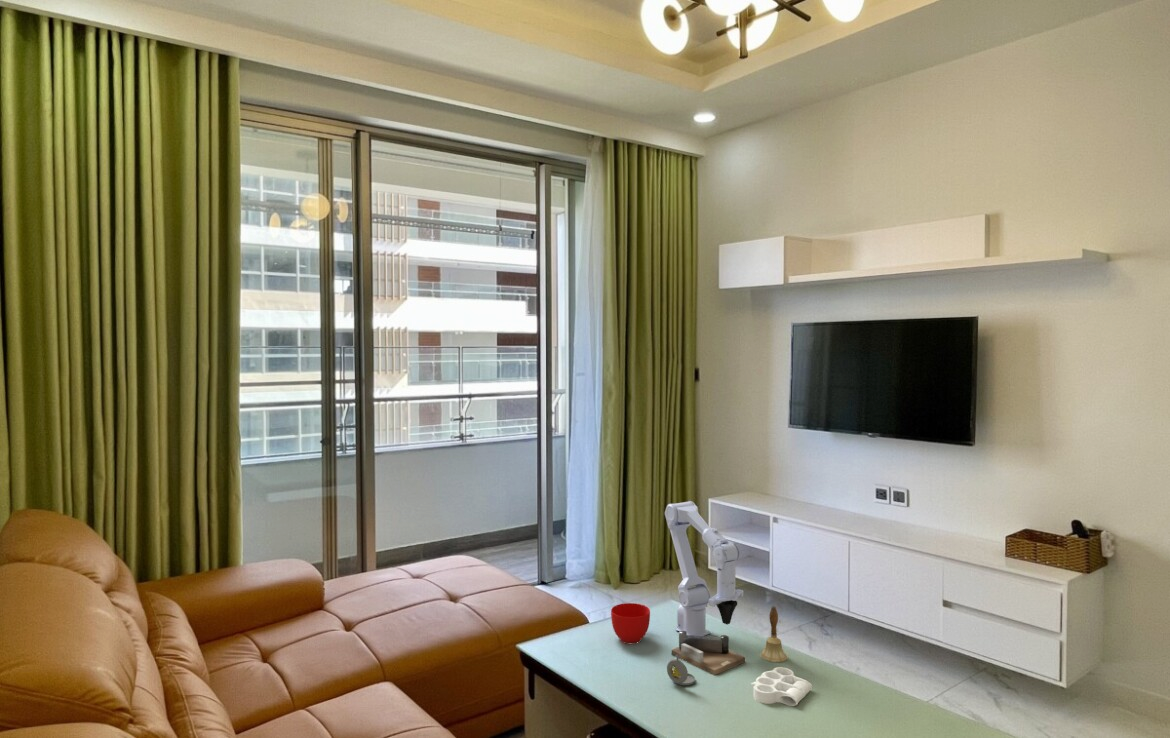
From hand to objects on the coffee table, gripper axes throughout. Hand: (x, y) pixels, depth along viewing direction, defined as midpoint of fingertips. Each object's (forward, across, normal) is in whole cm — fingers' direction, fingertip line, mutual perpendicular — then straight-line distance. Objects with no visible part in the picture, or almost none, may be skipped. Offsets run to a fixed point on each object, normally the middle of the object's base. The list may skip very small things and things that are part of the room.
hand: (726, 623), depth 226 cm
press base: (+9, -8, 0) cm, 12 cm away
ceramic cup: (+9, -16, +26) cm, 32 cm away
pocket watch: (+9, -26, -6) cm, 29 cm away
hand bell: (+9, +8, -12) cm, 17 cm away
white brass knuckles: (+10, -8, -27) cm, 30 cm away
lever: (+7, -8, +2) cm, 11 cm away
